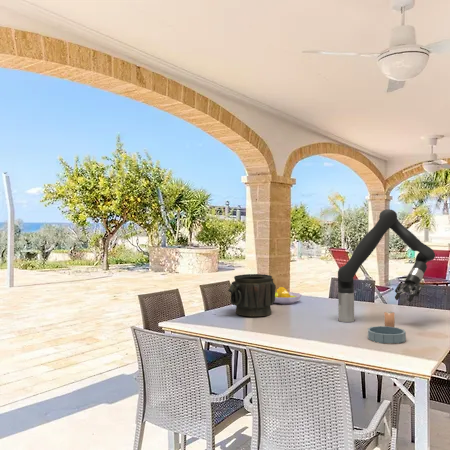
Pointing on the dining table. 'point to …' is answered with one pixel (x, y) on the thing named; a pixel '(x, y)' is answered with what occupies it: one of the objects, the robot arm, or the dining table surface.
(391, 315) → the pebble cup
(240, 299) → the vessel
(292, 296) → the fruit bowl
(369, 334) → the bowl
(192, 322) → the dining table surface
